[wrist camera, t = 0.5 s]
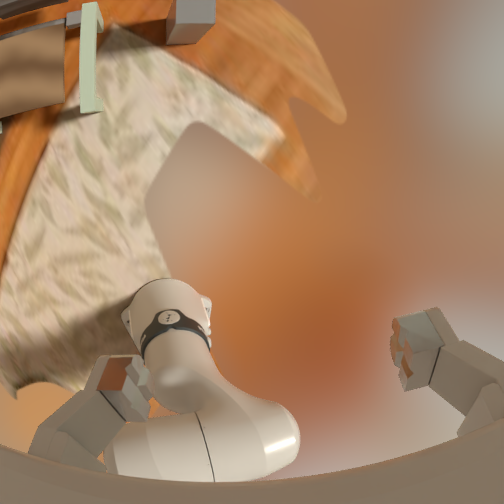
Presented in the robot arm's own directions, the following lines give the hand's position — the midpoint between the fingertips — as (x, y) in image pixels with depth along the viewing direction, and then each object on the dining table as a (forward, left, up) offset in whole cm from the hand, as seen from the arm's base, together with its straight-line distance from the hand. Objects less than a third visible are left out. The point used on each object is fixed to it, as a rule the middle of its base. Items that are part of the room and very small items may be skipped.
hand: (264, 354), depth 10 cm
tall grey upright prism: (+21, -4, -48) cm, 53 cm away
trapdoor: (+20, +19, -41) cm, 50 cm away
